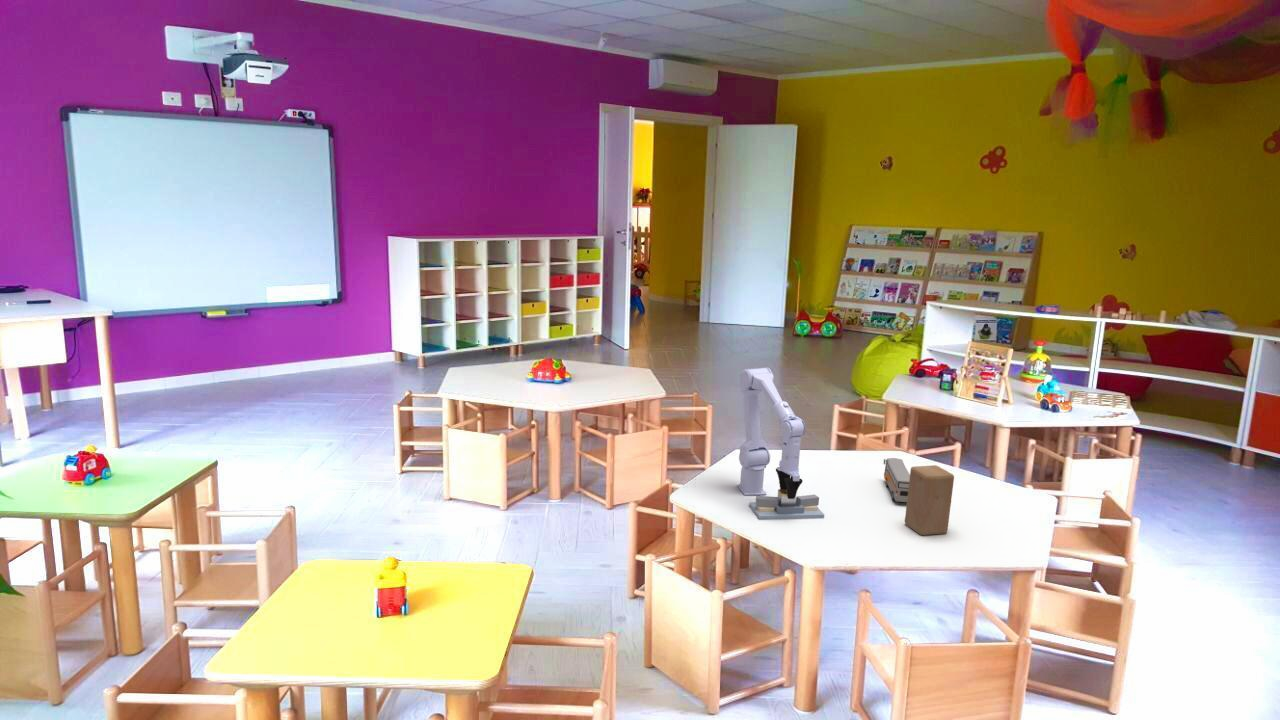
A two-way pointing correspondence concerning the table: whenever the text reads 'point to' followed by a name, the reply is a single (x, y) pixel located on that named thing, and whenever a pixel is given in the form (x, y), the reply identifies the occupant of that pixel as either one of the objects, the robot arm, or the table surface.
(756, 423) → the robot arm
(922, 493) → the wooden block
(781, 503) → the tan and white block
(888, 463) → the toy bus
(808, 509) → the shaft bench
